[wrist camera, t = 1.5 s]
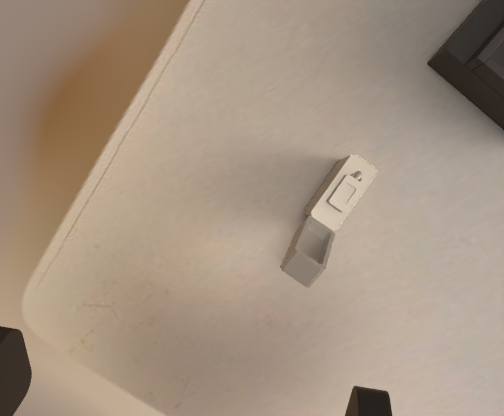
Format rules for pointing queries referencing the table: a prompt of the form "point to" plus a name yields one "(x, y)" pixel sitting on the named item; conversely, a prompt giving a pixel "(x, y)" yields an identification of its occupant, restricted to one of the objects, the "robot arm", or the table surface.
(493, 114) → the dark grey holder tray
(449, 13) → the table surface
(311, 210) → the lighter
